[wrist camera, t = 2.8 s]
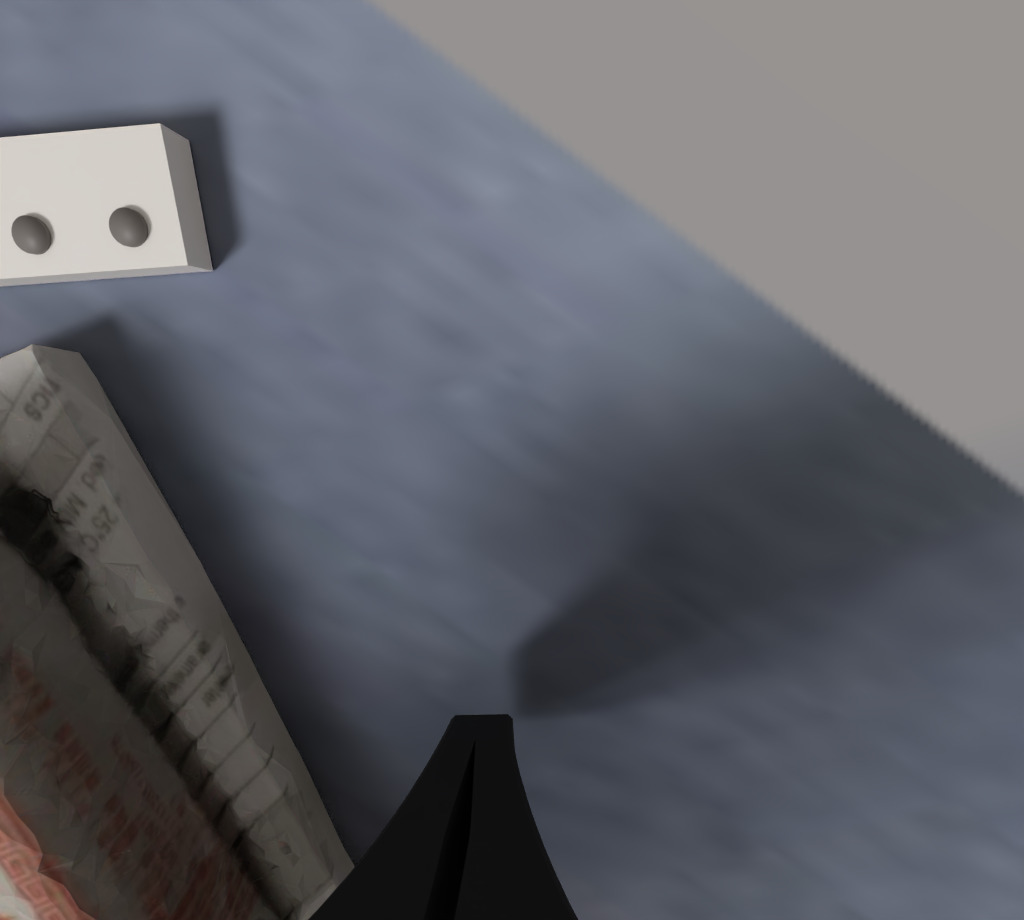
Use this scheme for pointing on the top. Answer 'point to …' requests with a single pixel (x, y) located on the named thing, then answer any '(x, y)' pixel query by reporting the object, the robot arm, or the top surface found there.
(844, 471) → the top surface
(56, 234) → the perforated board
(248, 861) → the packaged product
